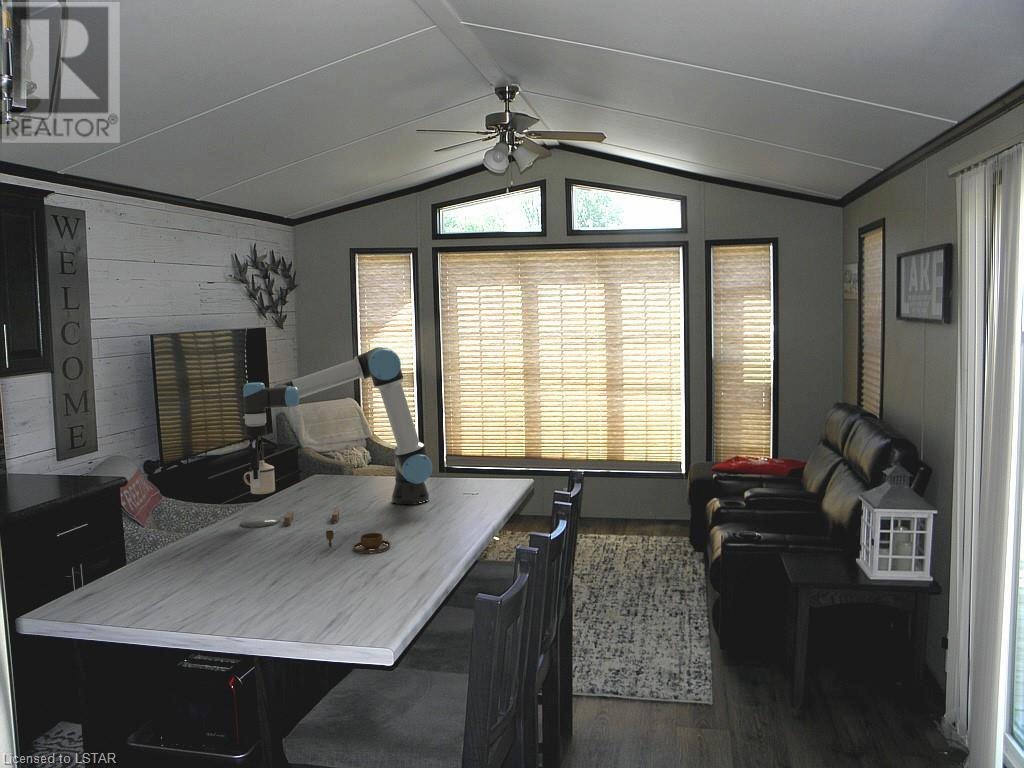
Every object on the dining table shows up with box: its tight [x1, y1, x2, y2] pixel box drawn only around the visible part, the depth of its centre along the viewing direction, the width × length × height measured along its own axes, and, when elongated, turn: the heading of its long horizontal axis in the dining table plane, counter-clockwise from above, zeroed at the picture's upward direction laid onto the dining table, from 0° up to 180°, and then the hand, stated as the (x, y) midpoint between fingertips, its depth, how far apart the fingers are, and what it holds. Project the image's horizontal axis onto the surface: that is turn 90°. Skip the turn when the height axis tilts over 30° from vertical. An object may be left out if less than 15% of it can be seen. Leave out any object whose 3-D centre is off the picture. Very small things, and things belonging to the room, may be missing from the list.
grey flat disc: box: [240, 514, 281, 528], centre depth 310 cm, size 14×14×1 cm
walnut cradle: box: [284, 507, 340, 526], centre depth 311 cm, size 19×10×3 cm, turn 98°
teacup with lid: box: [243, 460, 276, 495], centre depth 309 cm, size 12×9×12 cm
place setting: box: [325, 530, 391, 554], centre depth 275 cm, size 18×20×6 cm
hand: (258, 484), depth 309 cm, fingers closed on teacup with lid, 9 cm apart
